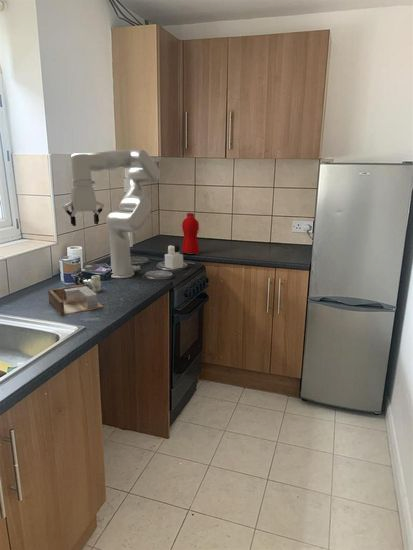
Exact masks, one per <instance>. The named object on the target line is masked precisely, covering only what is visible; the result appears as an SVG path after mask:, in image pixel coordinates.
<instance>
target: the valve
mask: <svg viewBox="0 0 413 550" xmlns="http://www.w3.org/2000/svg"><path fill="white" fill-rule="evenodd" d="M74 279H75V280H74V281H73V284H75V285H74V286H76V285H83V284H88V285H89V287H91V290H92V291H93V292H94V293H97V292H101V286H102V281H101V275H97V274H95V275H92V276H91V277H90V278H89V279H87V278H86V277H85V274H84V273H77V275H75V276H74Z"/></svg>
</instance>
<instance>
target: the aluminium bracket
mask: <svg viewBox="0 0 413 550" xmlns="http://www.w3.org/2000/svg"><path fill="white" fill-rule="evenodd" d="M64 297H65V302H66V303H67V304H68V303H74V302H79V301H80V302H81V303H82V304H83V305H84V306H85V307H86V308H87V309H89V308H94V307H98V302H99V301H98V294H97V292H94V291H92V288H90V287H89V288H88V287H87V286H84V287H77V288H71V289H65V290H64Z"/></svg>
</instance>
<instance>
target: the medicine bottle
mask: <svg viewBox="0 0 413 550" xmlns="http://www.w3.org/2000/svg"><path fill="white" fill-rule="evenodd" d="M164 267H165V268H166V269H170V270H177V269H181V268H183V267H184V255H183V253H182V254H181V253H180V246H179V245H178V244H170V245H168V246H167V253H165V254H164Z"/></svg>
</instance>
